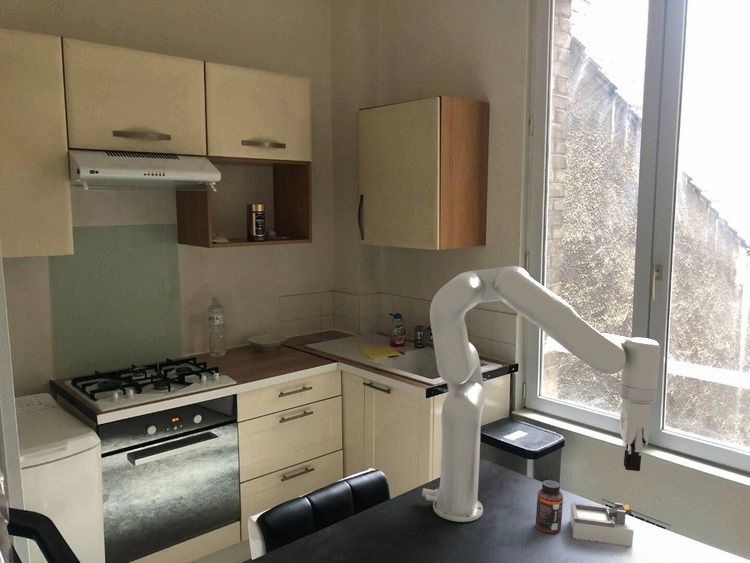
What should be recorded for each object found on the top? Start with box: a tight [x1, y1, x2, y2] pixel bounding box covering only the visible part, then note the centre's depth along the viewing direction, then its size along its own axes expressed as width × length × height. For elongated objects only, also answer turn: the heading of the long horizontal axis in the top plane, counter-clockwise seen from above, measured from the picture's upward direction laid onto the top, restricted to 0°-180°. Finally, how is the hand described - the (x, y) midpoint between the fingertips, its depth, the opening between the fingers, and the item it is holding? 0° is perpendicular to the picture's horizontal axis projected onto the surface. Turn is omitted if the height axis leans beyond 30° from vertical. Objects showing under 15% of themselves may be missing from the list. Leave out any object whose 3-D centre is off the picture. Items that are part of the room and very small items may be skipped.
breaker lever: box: [608, 504, 633, 517], centre depth 145 cm, size 5×2×1 cm, turn 77°
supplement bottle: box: [535, 479, 564, 534], centre depth 148 cm, size 6×6×11 cm
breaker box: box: [569, 502, 635, 547], centre depth 146 cm, size 13×8×7 cm, turn 78°
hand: (631, 468), depth 143 cm, fingers closed
